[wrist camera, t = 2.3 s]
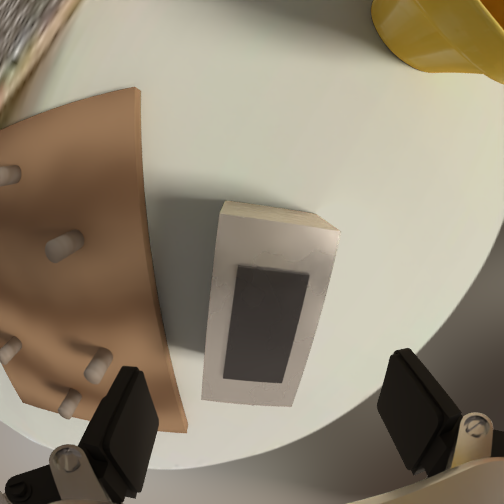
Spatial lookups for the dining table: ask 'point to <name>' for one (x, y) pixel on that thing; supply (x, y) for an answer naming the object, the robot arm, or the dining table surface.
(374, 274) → the dining table surface
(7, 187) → the wooden peg board
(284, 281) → the block
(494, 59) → the plant pot
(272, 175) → the dining table surface
